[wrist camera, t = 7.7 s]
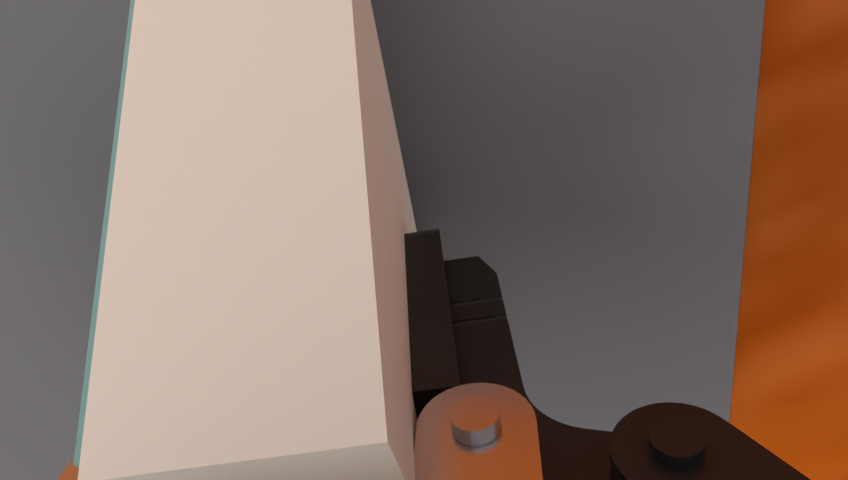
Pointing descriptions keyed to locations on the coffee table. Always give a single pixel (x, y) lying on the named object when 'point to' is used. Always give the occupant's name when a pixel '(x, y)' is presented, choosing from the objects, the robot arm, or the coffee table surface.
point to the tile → (251, 252)
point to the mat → (441, 191)
